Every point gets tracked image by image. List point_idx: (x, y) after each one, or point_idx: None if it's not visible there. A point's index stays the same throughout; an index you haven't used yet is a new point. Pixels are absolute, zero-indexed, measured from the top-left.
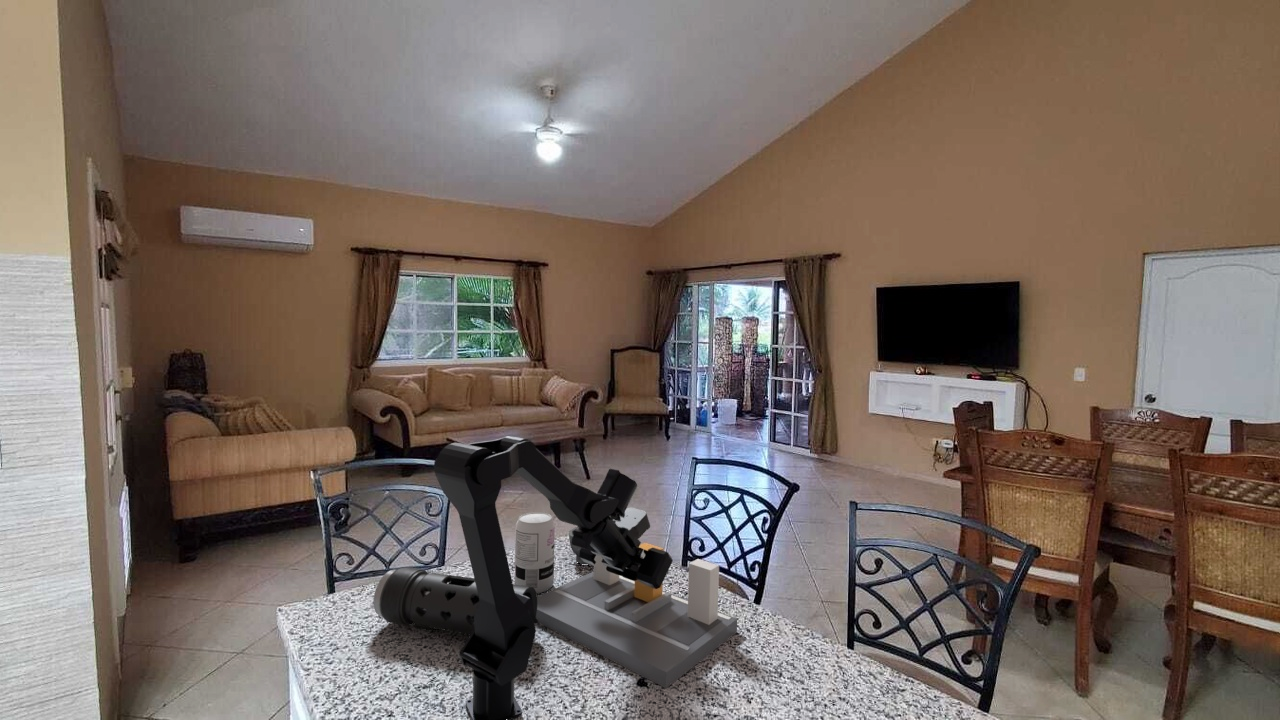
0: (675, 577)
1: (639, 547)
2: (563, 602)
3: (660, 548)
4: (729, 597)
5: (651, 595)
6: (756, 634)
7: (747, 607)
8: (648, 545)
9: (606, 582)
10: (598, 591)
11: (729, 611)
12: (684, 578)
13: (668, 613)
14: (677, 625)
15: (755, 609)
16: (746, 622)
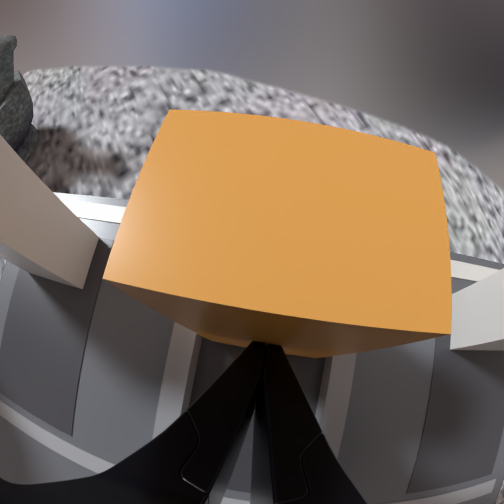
0: (234, 98)
1: (163, 275)
2: (34, 464)
3: (416, 163)
4: (405, 132)
5: (313, 356)
6: None
7: (456, 160)
8: (246, 148)
9: (67, 283)
10: (70, 355)
11: (447, 194)
12: (259, 94)
13: (392, 374)
14: (446, 422)
15: (470, 163)
16: (492, 225)
